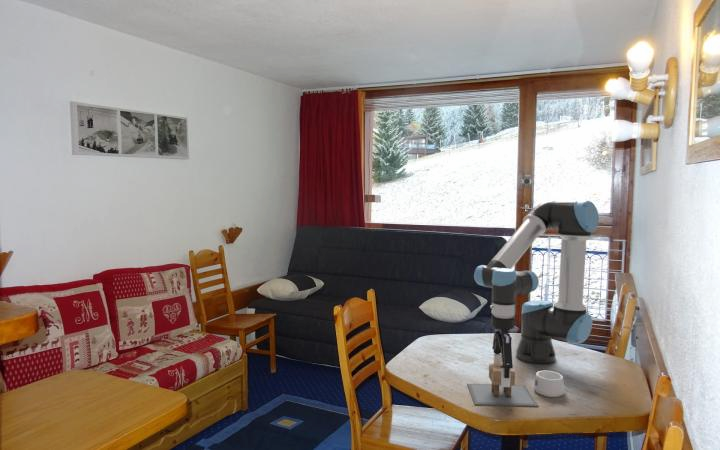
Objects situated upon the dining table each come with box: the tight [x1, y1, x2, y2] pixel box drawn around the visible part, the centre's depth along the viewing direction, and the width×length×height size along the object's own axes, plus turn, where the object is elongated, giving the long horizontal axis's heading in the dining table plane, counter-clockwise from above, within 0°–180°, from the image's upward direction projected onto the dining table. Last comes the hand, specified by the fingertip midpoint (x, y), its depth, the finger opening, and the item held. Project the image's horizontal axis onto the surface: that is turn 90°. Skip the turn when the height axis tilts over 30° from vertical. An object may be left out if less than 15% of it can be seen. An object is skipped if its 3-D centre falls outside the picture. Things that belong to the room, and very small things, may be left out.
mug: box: [533, 370, 565, 398], centre depth 171 cm, size 12×10×6 cm
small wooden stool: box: [488, 363, 516, 398], centre depth 167 cm, size 7×7×9 cm
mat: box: [466, 383, 539, 408], centre depth 167 cm, size 20×16×1 cm
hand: (501, 379), depth 167 cm, fingers open, 11 cm apart
